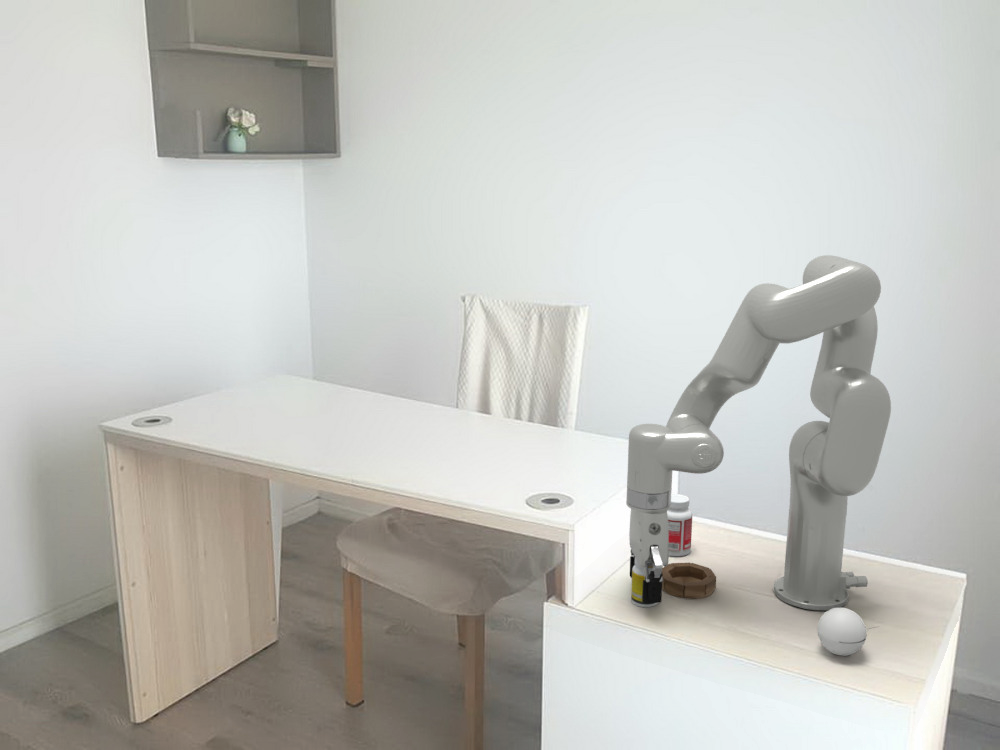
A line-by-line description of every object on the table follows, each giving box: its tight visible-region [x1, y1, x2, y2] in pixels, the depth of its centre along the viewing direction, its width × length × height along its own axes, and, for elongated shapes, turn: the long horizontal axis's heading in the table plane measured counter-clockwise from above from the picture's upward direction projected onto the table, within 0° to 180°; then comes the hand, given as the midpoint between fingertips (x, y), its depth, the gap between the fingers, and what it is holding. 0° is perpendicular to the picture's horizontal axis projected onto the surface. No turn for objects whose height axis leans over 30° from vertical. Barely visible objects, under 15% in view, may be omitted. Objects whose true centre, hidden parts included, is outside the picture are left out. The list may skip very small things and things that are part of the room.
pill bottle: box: [667, 493, 693, 557], centre depth 192 cm, size 6×6×11 cm
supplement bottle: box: [630, 558, 658, 608], centre depth 171 cm, size 5×5×8 cm
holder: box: [662, 562, 717, 600], centre depth 177 cm, size 10×10×3 cm
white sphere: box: [816, 607, 880, 656], centre depth 154 cm, size 10×7×7 cm
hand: (644, 589), depth 171 cm, fingers open, 9 cm apart
